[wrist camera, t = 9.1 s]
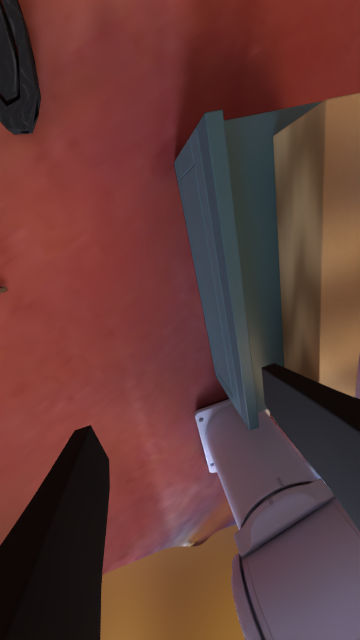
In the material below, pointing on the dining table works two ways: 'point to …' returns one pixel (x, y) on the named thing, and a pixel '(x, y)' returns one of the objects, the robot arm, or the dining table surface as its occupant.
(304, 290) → the stick
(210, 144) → the shelf
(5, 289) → the place setting
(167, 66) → the dining table surface
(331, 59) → the dining table surface
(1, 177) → the dining table surface
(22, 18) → the hairbrush
